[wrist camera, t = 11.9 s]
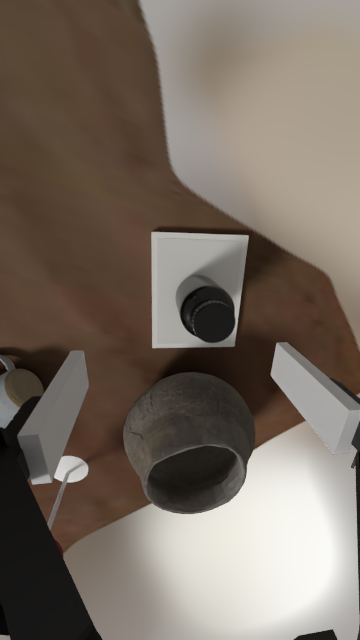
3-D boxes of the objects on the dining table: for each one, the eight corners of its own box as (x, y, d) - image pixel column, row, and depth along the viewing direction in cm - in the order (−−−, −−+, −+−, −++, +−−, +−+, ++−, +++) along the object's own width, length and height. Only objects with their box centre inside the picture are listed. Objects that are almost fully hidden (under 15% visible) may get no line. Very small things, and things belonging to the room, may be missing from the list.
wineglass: (49, 452, 46) (-22, 602, 27) (94, 458, 48) (57, 603, 29) (43, 480, 49) (-25, 635, 30) (87, 485, 50) (47, 635, 32)
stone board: (151, 231, 34) (151, 231, 33) (245, 235, 35) (249, 235, 34) (152, 344, 40) (152, 348, 39) (232, 343, 42) (234, 346, 40)
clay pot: (255, 416, 48) (296, 491, 34) (165, 462, 50) (170, 551, 36) (206, 334, 41) (234, 388, 27) (103, 392, 43) (78, 471, 29)
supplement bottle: (226, 285, 36) (258, 309, 25) (205, 322, 38) (226, 361, 27) (186, 265, 35) (202, 282, 24) (167, 306, 37) (172, 339, 26)
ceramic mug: (54, 388, 41) (33, 420, 34) (17, 410, 42) (-12, 446, 35) (9, 341, 38) (-26, 367, 31) (-31, 366, 38) (-74, 397, 31)
